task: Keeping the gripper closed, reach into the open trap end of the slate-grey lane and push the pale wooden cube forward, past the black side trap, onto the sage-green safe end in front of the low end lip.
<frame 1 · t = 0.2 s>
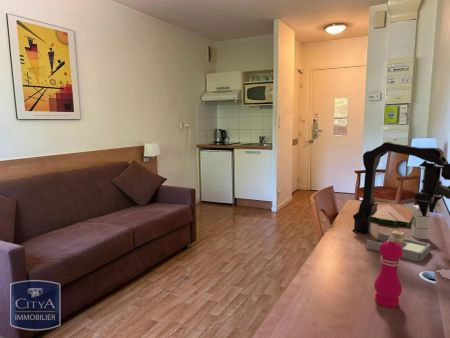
hand: (427, 214, 138), 14 cm above the table, tool pointing down, fingers open, 9 cm apart
wooden cube: (397, 241, 138), point 2 cm above the table, touching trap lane
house: (388, 219, 183), on the table
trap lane: (397, 249, 136), on the table
syrup box: (418, 237, 152), on the table
pepper mill: (386, 302, 96), on the table
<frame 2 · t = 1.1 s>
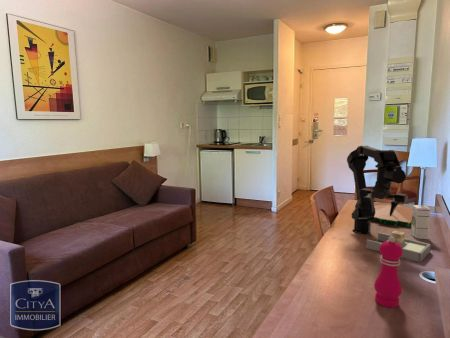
hand: (381, 214, 142), 13 cm above the table, tool pointing down, fingers open, 7 cm apart
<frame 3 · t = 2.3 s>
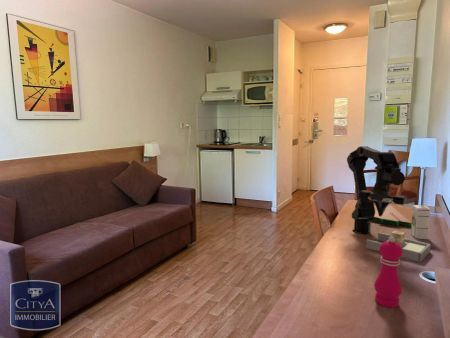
hand: (380, 216, 142), 12 cm above the table, tool pointing down, fingers closed
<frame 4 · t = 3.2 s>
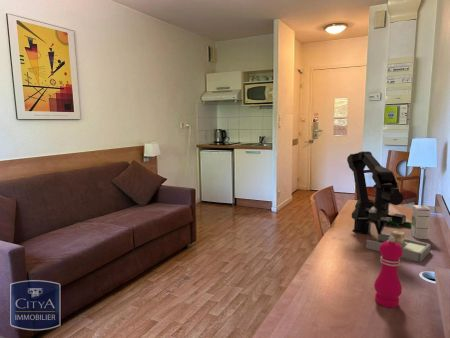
hand: (379, 234, 143), 4 cm above the table, tool pointing down, fingers closed
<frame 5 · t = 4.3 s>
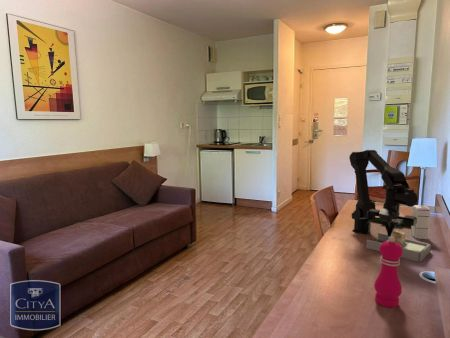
hand: (389, 236, 140), 4 cm above the table, tool pointing down, fingers closed
wooden cube: (397, 241, 138), point 3 cm above the table, touching gripper
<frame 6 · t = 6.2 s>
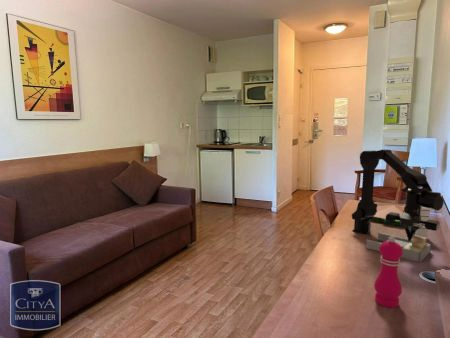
hand: (409, 240, 135), 4 cm above the table, tool pointing down, fingers closed
wooden cube: (418, 246, 133), point 2 cm above the table, touching gripper, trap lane
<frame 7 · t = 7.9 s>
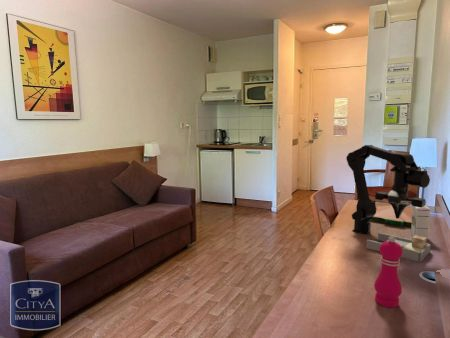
hand: (397, 218, 141), 12 cm above the table, tool pointing down, fingers closed
wooden cube: (418, 246, 133), point 2 cm above the table, touching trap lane
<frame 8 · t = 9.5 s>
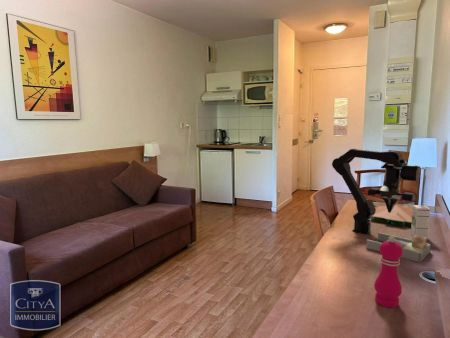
hand: (389, 212, 149), 12 cm above the table, tool pointing down, fingers closed
at the end: wooden cube 0.6 cm from the target spot on the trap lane, point 2.5 cm above the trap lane's base; wooden cube tilted 0° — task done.
